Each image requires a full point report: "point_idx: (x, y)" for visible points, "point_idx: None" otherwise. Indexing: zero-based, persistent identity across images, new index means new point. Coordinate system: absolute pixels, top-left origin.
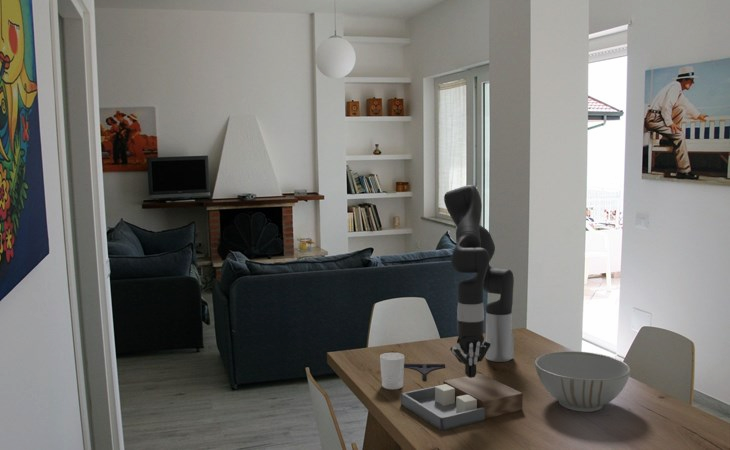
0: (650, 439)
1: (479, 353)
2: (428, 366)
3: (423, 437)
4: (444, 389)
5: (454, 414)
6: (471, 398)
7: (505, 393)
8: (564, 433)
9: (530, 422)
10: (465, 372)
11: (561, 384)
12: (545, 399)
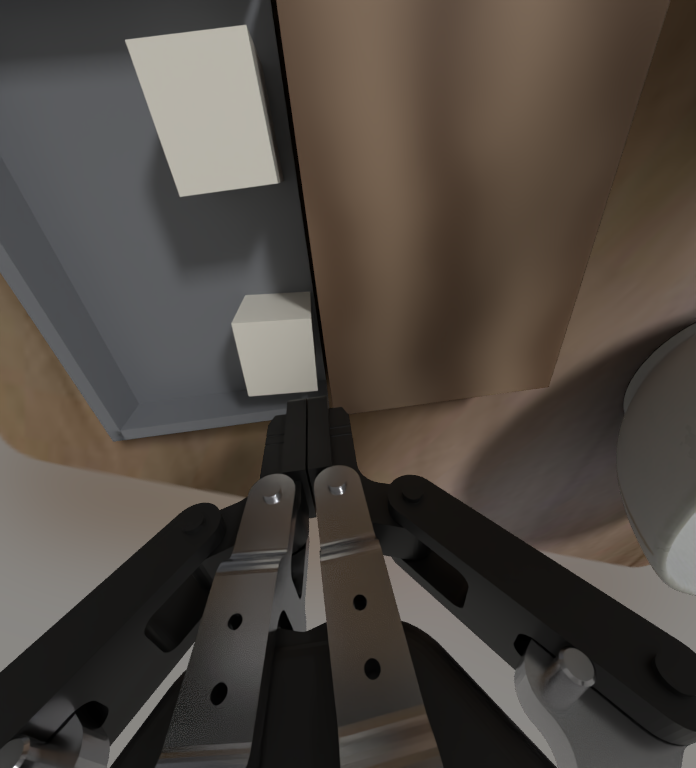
0: (574, 545)
1: (470, 538)
2: None
3: (56, 432)
4: (193, 165)
5: (180, 426)
6: (299, 372)
7: (486, 367)
8: (465, 499)
9: (447, 435)
10: (268, 431)
11: (634, 520)
12: (665, 296)
